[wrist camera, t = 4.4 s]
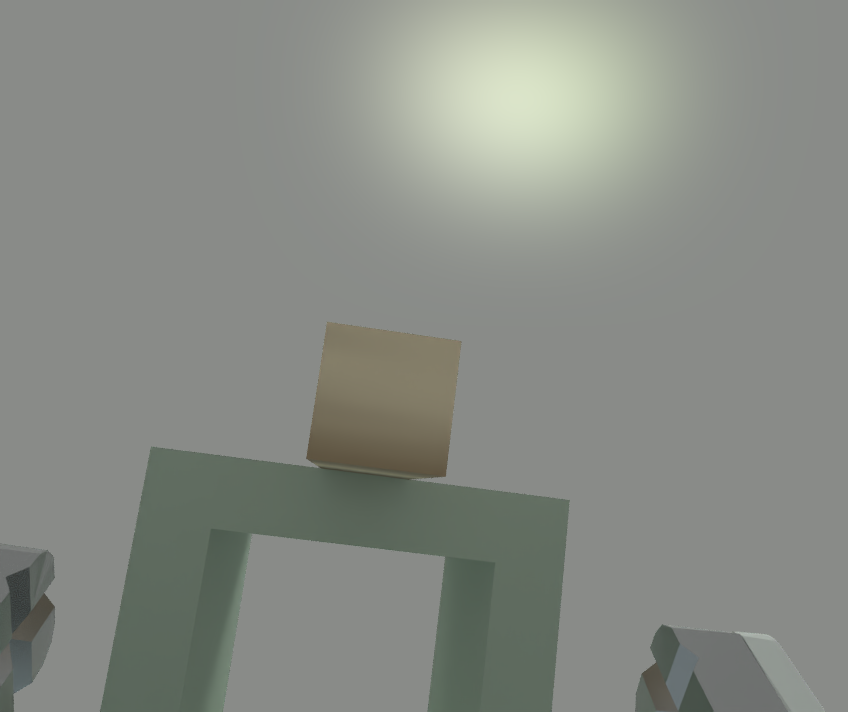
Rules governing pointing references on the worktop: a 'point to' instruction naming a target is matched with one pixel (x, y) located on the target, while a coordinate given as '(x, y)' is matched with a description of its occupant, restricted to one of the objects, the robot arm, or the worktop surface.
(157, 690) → the bridge
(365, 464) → the bar
